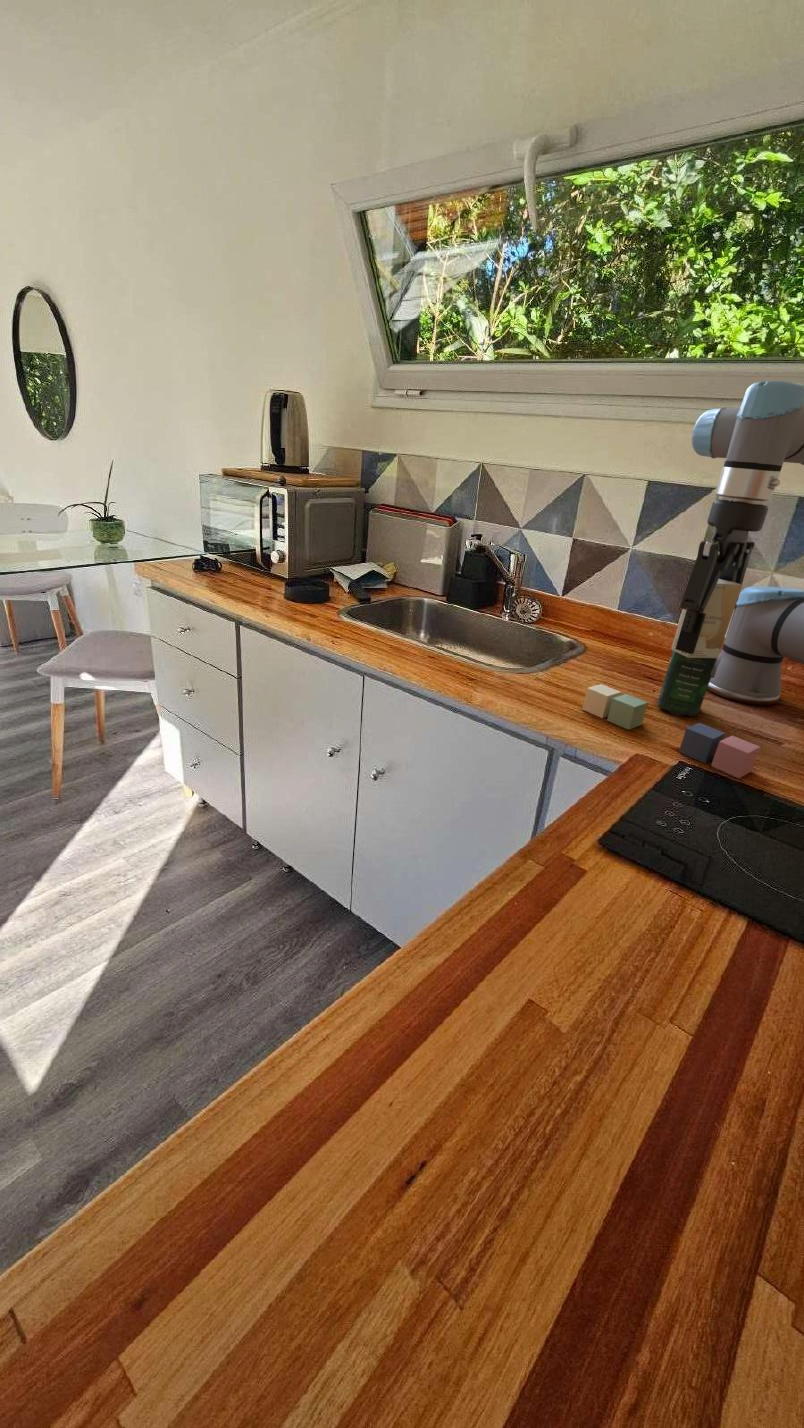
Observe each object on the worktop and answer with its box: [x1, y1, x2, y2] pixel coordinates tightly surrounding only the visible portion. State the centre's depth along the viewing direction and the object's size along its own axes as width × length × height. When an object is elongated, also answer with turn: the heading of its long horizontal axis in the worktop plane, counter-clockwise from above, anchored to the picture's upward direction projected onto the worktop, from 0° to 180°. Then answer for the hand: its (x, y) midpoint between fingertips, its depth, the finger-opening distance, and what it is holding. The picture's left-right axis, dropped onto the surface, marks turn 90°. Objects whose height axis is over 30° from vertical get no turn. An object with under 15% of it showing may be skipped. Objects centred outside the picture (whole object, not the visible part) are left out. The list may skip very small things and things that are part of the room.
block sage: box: [606, 693, 649, 731], centre depth 108 cm, size 4×4×4 cm
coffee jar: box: [657, 650, 717, 717], centre depth 115 cm, size 10×8×19 cm
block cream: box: [581, 683, 622, 719], centre depth 112 cm, size 4×4×4 cm
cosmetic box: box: [670, 579, 743, 658], centre depth 95 cm, size 6×4×12 cm
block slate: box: [678, 722, 726, 764], centre depth 99 cm, size 4×4×4 cm
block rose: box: [710, 735, 761, 779], centre depth 95 cm, size 4×4×4 cm
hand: (696, 648), depth 97 cm, fingers closed on cosmetic box, 7 cm apart
